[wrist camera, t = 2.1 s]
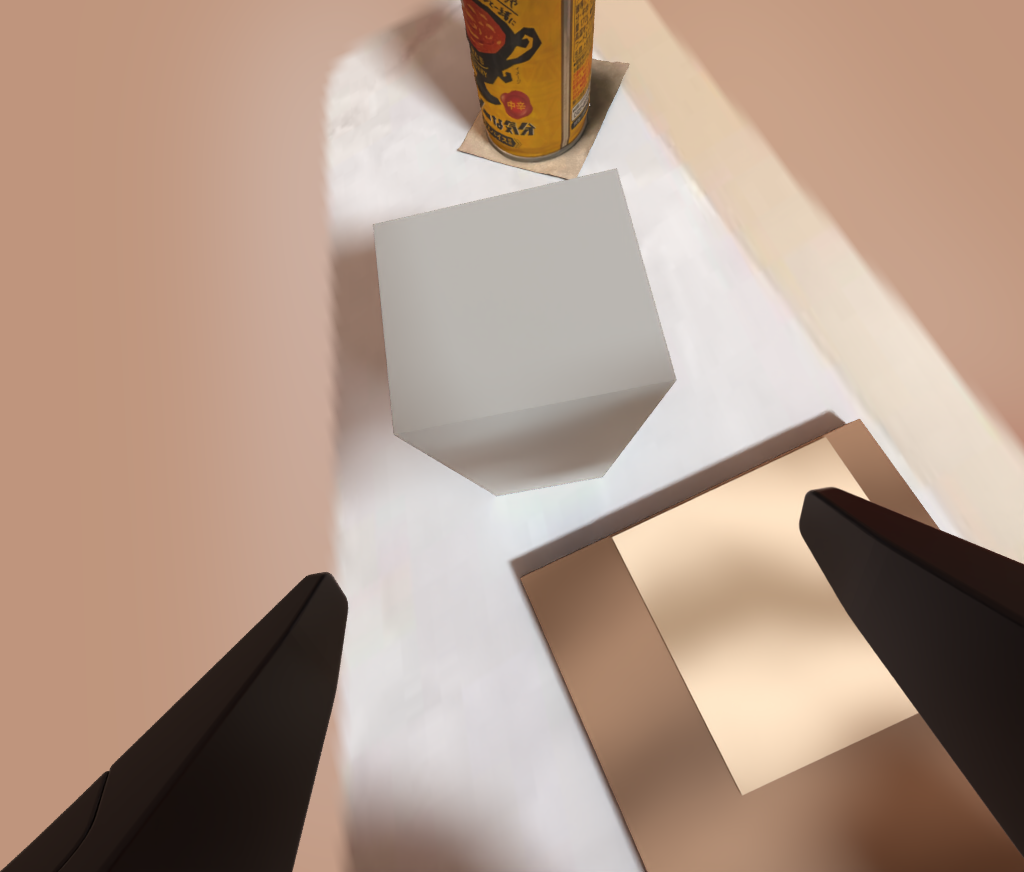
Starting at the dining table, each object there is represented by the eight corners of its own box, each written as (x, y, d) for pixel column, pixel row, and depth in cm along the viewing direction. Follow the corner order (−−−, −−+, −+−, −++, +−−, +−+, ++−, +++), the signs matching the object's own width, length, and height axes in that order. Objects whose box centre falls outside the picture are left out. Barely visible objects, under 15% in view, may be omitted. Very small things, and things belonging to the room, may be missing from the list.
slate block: (602, 477, 19) (676, 380, 7) (496, 496, 19) (393, 434, 7) (582, 386, 20) (616, 167, 8) (482, 406, 21) (373, 224, 8)
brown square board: (1178, 889, 14) (1220, 913, 13) (745, 1091, 14) (757, 1128, 13) (847, 423, 18) (861, 418, 18) (521, 576, 18) (520, 578, 18)
